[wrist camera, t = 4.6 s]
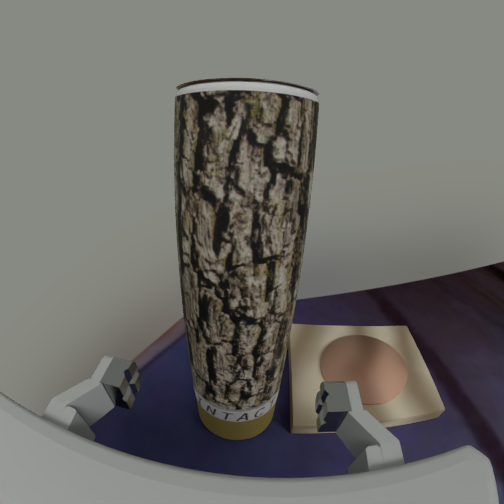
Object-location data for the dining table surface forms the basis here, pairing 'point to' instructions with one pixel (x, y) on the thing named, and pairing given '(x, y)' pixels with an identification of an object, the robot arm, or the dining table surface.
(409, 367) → the holder board
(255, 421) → the bark print tube
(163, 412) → the dining table surface
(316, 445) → the dining table surface
